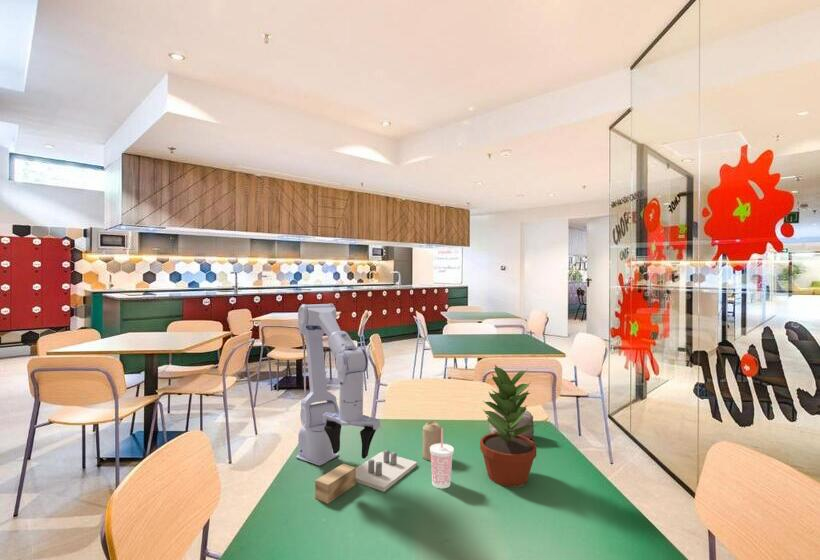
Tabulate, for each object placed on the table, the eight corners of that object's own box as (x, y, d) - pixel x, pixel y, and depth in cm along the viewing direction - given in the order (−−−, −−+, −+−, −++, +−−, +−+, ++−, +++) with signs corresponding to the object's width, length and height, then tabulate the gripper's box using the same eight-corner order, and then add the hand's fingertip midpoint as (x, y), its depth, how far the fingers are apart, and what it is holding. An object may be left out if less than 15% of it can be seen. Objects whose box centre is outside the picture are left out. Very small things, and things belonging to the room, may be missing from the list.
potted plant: (546, 475, 107) (548, 363, 106) (519, 498, 95) (521, 372, 95) (497, 457, 117) (499, 354, 116) (467, 476, 106) (469, 362, 105)
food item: (493, 442, 128) (494, 411, 127) (487, 432, 136) (487, 403, 135) (535, 442, 128) (536, 411, 128) (527, 432, 136) (527, 403, 136)
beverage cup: (425, 486, 100) (426, 430, 100) (433, 475, 106) (434, 422, 105) (449, 492, 98) (450, 434, 97) (456, 480, 103) (457, 426, 103)
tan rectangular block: (328, 504, 92) (328, 484, 92) (315, 499, 94) (315, 480, 94) (355, 485, 101) (355, 467, 101) (343, 480, 103) (343, 463, 103)
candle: (440, 462, 113) (440, 427, 113) (421, 460, 114) (421, 425, 114) (442, 453, 119) (443, 420, 119) (424, 451, 120) (424, 418, 120)
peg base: (345, 478, 104) (345, 462, 104) (381, 455, 117) (381, 441, 117) (383, 491, 97) (384, 475, 97) (416, 465, 111) (417, 451, 111)
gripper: (316, 400, 96) (315, 456, 96) (372, 407, 92) (371, 466, 92) (330, 392, 103) (329, 445, 103) (383, 398, 99) (382, 453, 99)
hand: (350, 454), depth 98 cm, fingers open, 7 cm apart
